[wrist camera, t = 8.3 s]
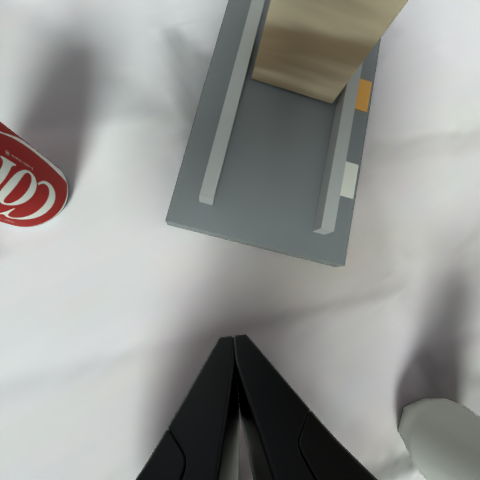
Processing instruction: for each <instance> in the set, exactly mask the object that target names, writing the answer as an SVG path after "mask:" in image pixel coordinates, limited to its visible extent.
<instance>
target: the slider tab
mask: <svg viewBox="0 0 480 480" xmlns="http://www.w3.org/2000/svg"><path fill="white" fill-rule="evenodd" d="M407 1H408V0H271V1H270V5H269V9H268V13H267V17H266V22H265V26H264V30H263V34H262V38H261V42H260V46H259V50H258V54H257V58H256V62H255V66H254V70H253V74H252V79H255V80H258V81H261V82H264V83H268V84H271V85H274V86H277V87H280V88H283V89H287V90H290V91H293V92H296V93H299V94H302V95H306V96H309V97H312V98H315V99H318V100H321V101H325V102H328V103H331V104H332V103H333V102H334V100H335V99H336V97H337V96H338V95H339V93H340V92H341V91H342V89H343V88H344V87H345V85H346V84H347V83H348V81H349V80H350V78H351V77H352V76H353V74H354V73H355V72H356V70H357V69H358V68H359V66H360V65H361V64H362V62H363V61H364V59H365V58H366V57H367V55H368V54H369V53H370V51H371V50H372V49H373V47H374V46H375V45H376V43H377V42H378V40H379V39H380V38H381V36H382V35H383V34H384V32H385V31H386V30H387V28H388V27H389V26H390V24H391V23H392V22H393V20H394V19H395V17H396V16H397V15H398V13H399V12H400V11H401V9H402V8H403V7H404V5H405V4H406V3H407Z"/></svg>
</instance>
